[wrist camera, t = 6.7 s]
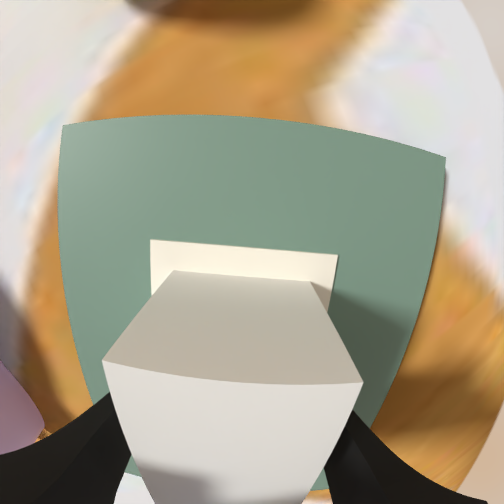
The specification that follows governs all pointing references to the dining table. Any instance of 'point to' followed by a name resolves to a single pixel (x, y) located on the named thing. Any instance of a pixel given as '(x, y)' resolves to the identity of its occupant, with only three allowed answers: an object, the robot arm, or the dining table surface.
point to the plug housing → (231, 389)
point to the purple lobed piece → (16, 415)
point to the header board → (247, 227)
